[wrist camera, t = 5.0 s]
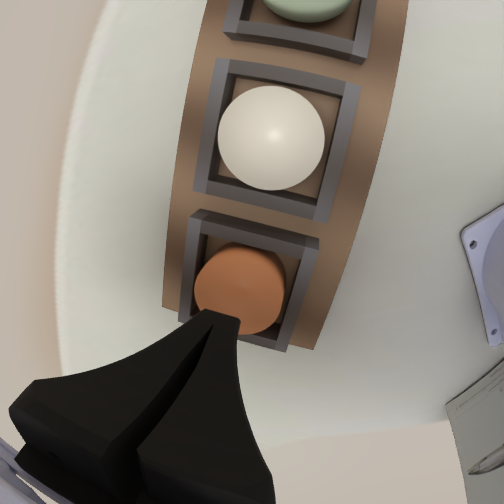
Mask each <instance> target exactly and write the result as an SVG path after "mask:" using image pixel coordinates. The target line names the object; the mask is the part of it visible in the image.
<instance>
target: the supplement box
mask: <svg viewBox="0 0 504 504" xmlns="http://www.w3.org/2000/svg"><path fill="white" fill-rule="evenodd" d="M446 409H447V413H448V417H449V420H450V424H451V427H452V431H453V435H454V439H455V443H456V447H457V451H458V456H459V459H460V464H461V469H462V473H463V478H464V484H465V490H466V496H467V502H468V504H504V360H503V361H502V362H501V363H500V364H499V365H498V366H497V367H496V368H494V369H493V370H492V371H491V372H490V373H489V374H487V375H486V376H485V377H484V378H482V379H481V380H480V381H478V382H477V383H476V384H475V385H473V386H472V387H471V388H469V389H468V390H467V391H465V392H464V393H463V394H461V395H460V396H458V397H457V398H455V399H454V400H452V401H451V402H449V403H448V404H447V405H446Z"/></svg>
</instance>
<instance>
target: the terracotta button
mask: <svg viewBox="0 0 504 504" xmlns="http://www.w3.org/2000/svg"><path fill="white" fill-rule="evenodd" d="M285 287H286V273H285V269H284V266H283V264H282V262H281V261H280V259H279V258H278V257H277V255H276V254H275V253H274V252H272V251H268V250H264V249H260V248H256V247H252V246H249V245H245V244H241V243H237V242H230V243H227V244H225V245H223V246H222V247H220V248H219V249H218V250H217V251H216V252H215V253H214V254H213V256H212V257H211V258H210V260H209V261H208V262H207V263H206V265H205V266H204V267H203V269H202V270H201V271H200V273H199V274H198V276H197V279H196V281H195V286H194V294H195V299H196V303H197V305H198V307H199V309H200V311H201V310H203V309H205V308H206V309H209V310H213V311H216V312H219V313H223V314H226V315H230V316H233V317H237V318H239V319H240V321H241V324H240V329H239V333H238V334H241V335H247V334H254V333H258V332H260V331H263V330H265V329H266V328H268V327H269V326H270V325H271V324H273V323H274V321H275V320H276V319H277V317H278V315H279V313H280V310H281V306H282V301H283V297H284V292H285Z"/></svg>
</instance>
